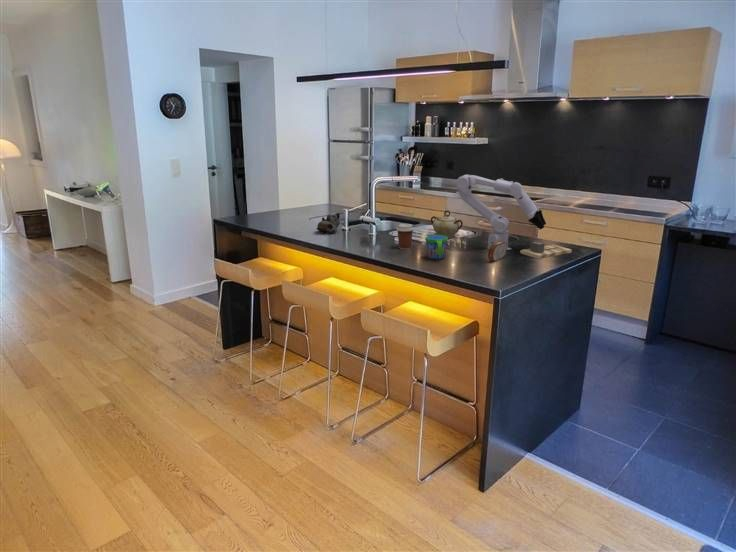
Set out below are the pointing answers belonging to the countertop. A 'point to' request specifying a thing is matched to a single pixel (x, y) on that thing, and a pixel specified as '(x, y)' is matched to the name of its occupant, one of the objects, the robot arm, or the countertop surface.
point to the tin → (497, 251)
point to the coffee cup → (405, 235)
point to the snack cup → (436, 246)
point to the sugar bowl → (446, 225)
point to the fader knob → (537, 247)
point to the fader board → (547, 251)
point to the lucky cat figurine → (329, 223)
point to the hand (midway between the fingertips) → (543, 226)
